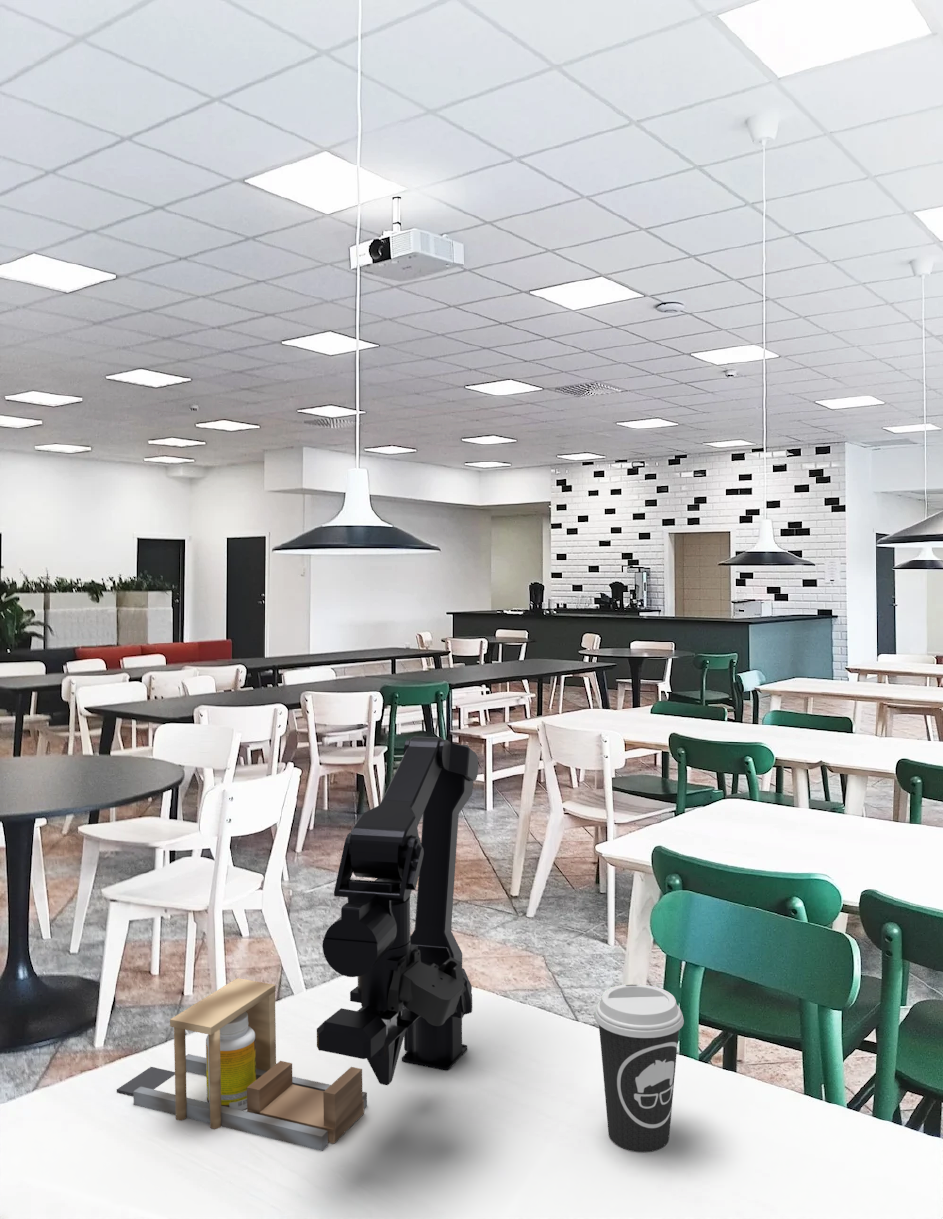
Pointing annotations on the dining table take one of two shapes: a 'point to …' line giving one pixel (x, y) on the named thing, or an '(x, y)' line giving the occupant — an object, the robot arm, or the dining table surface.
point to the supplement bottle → (235, 1062)
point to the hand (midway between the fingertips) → (385, 1083)
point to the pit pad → (146, 1080)
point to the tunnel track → (210, 1020)
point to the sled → (308, 1100)
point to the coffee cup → (638, 1063)
